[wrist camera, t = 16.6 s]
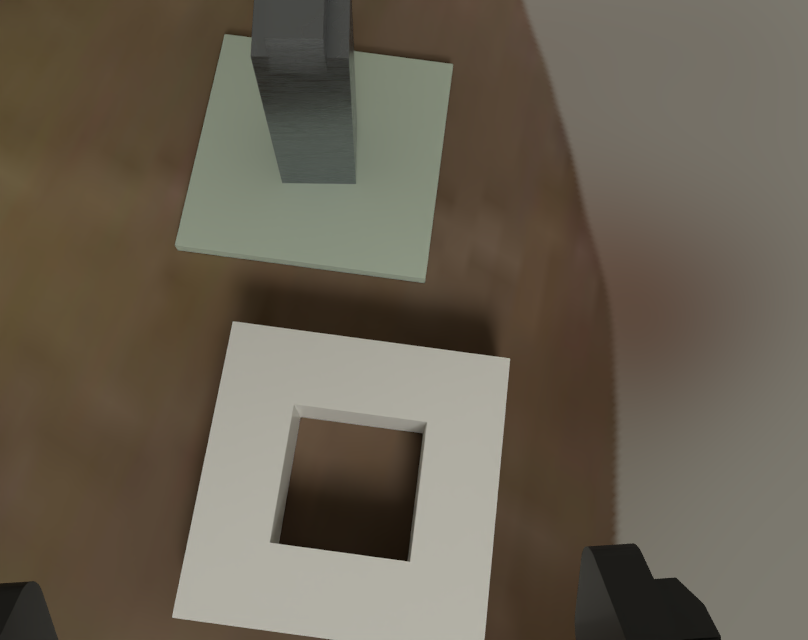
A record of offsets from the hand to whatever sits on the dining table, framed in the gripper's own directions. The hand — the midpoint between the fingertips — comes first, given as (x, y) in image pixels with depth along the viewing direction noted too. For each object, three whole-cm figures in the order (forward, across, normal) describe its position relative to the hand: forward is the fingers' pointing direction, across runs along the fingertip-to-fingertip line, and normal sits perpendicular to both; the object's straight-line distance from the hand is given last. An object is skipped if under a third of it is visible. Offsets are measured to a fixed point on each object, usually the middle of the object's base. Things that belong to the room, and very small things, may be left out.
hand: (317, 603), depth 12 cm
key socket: (+19, 0, +13) cm, 23 cm away
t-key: (+30, +1, +1) cm, 30 cm away
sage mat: (+30, +1, +2) cm, 30 cm away
